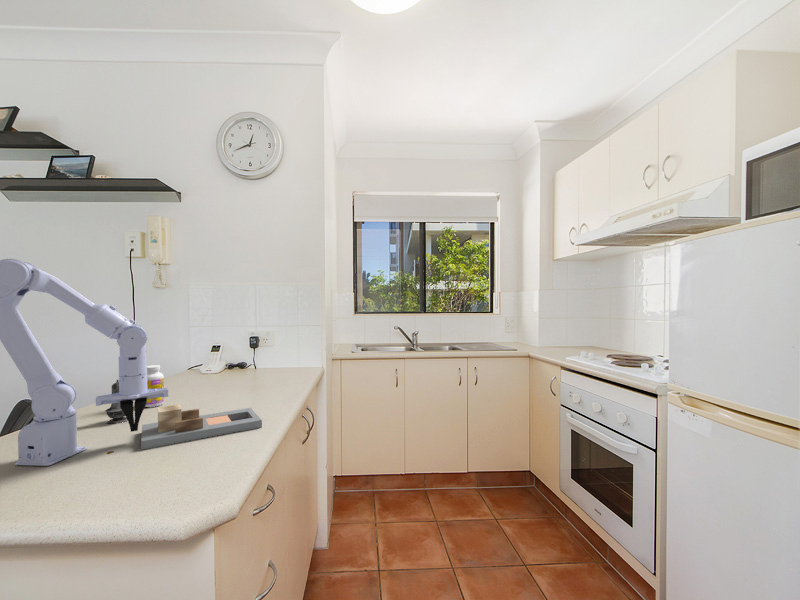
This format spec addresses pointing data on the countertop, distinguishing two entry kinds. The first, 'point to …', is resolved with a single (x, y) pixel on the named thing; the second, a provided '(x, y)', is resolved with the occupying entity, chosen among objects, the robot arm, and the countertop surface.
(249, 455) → the countertop surface
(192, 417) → the channel walls
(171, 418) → the block
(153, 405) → the supplement bottle
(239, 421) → the deck
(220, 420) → the tile
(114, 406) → the salt shaker
